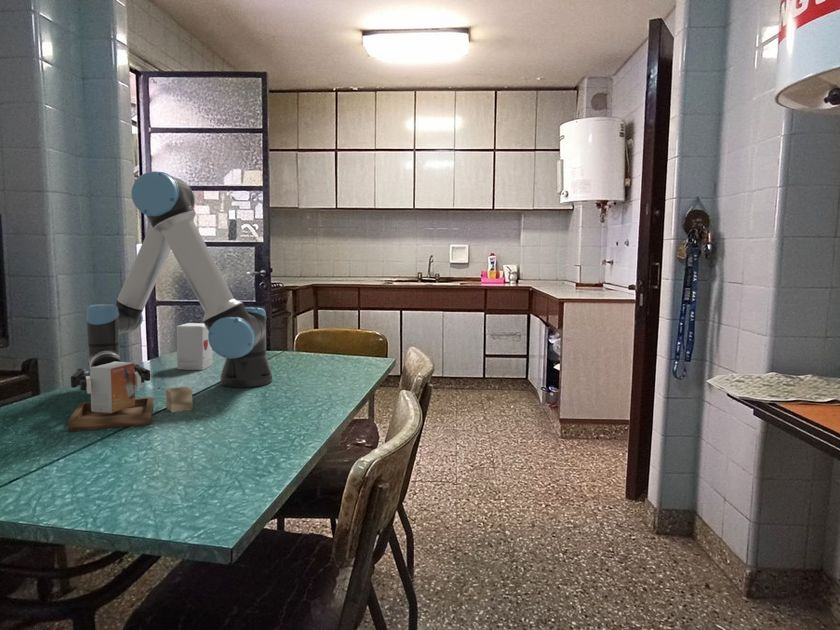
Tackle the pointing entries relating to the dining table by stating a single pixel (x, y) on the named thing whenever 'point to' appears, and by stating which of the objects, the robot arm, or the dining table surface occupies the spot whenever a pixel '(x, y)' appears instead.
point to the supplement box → (193, 347)
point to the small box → (112, 387)
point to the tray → (111, 416)
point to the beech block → (179, 399)
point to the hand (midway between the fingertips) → (114, 385)
